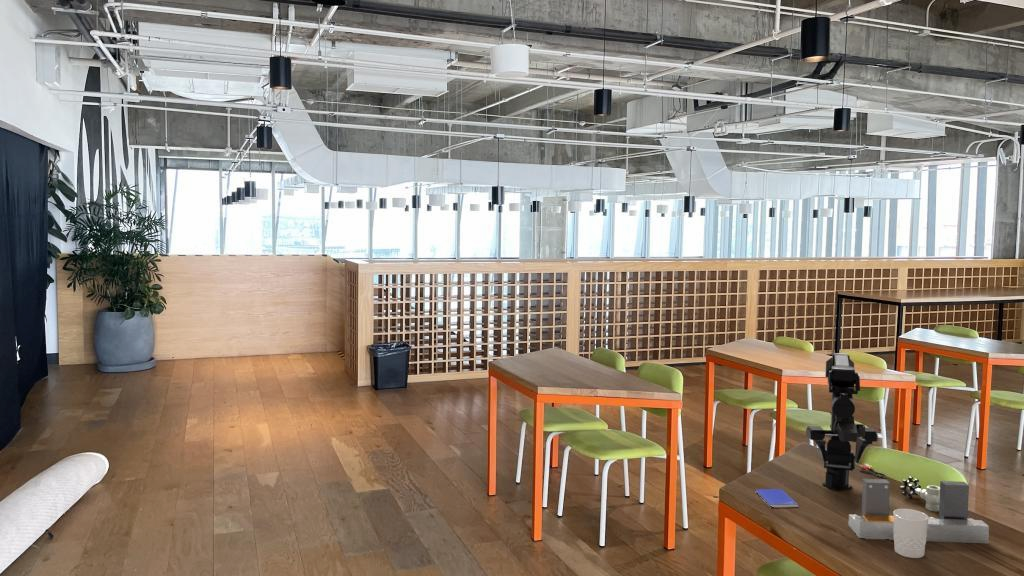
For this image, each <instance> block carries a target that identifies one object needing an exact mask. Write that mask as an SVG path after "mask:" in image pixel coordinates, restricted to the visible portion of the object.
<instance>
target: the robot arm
mask: <svg viewBox="0 0 1024 576" xmlns="http://www.w3.org/2000/svg"><path fill="white" fill-rule="evenodd" d="M831 355H832V357H830V358H829V359H828V360H826V361H825V378H827V384H828V393H829V394H830V393H831V410H830V416H831V418H830V425H829V429H824V428H822V427H821V426H819V425H818V426H816V425H813V426H812V425H809V426H807V427H806V429H805V435H806V437H807V438H808V439H809V440H812V441H813V442H814V443H816V446H817V448H818V451H819V453H820V454H819V455H820V457H821V459H822V461H823V468H824V469H826V472H825V482H822V485H823V486H825V487H827V488H830V489H832V490H835V491H837V492H839V491H843V490H849V489H853V485H850V484H849V480H850V479H849V477H850V471H851V472H853V470H855V466H856V465H855V464H859V462H860V460H861V457H862V455H863V453H864V451H865V449H866V448H867V447H868V446H869V445H872V444H873V443H875V442H878V441H879V435H878V433H877V431H875V430H874V429H873V428H872V427H866V426H865V424H864V423H858V424H857V423H855V416H854V413H855V411H856V407H855V403H854V395H858V394H859V392H860V390H861V379H860V375H859V373H858V372H856V368H855V362H854V361H853V360H852V359H851V357H850V354H848V353H839V352H838V353H837V352H835V353H832V354H831ZM826 437H829V439H828V441H827V442H826V440H825V438H826ZM850 442H852V443H855V454H854V451H852V444H851V443H850Z"/></svg>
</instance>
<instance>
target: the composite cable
mask: <svg viewBox="0 0 1024 576" xmlns="http://www.w3.org/2000/svg"><path fill="white" fill-rule="evenodd" d="M859 466H860V468H859V472H862V473H865V474H868V473H870V474H869V475H872V474H874V475H877V474H880V475H883V476H879V475H877V476H879V477H884V476H885V477H886V478H887V475H886V474H885V473H881V472H875V470H874V467H873V466H872V464H868V463H865V462H864V463H863V464H859ZM874 475H873V476H874ZM877 476H876V477H877ZM879 477H878V478H879Z"/></svg>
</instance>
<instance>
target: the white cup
mask: <svg viewBox="0 0 1024 576" xmlns="http://www.w3.org/2000/svg"><path fill="white" fill-rule="evenodd" d="M892 513H893V514H892V516H893V533H894V540H893V542H894V543H893V544H894V545H893V546H894V547H893V548H894V552H895V553H896V554H898V555H900V556H902V557H905V558H911V559H920V558H923V557H925V551H926V543H927V541H926V537H927V527H928V517H929V515H927V514H926V513H925V512H922V511H920V510H915V509H912V508H897V509H894V510H893V512H892Z"/></svg>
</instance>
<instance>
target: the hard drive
mask: <svg viewBox="0 0 1024 576" xmlns="http://www.w3.org/2000/svg"><path fill="white" fill-rule="evenodd" d="M756 492H757V493H758V494H759V495H760V496H761V497H762V498H763V499H764V500H765V501H766V502H767V503H768V504H769V505H770V506H772V507H774V508H798V507H799V503H797V502H796V501H795V500H794V499H793V498H792V497H791V496H789V495H788V494H787V493H786V492H785V491H784V490H782V489H781V488H772V489H768V488H766V489H765V488H764V489H763V488H762V489H755V493H756ZM761 497H760V498H761ZM762 498H761V499H762ZM763 499H762V500H763ZM764 500H763V501H764ZM765 501H764V502H765ZM766 502H765V503H766ZM767 503H766V504H767ZM768 504H767V505H768ZM769 505H768V506H769ZM770 506H769V507H770Z"/></svg>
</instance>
